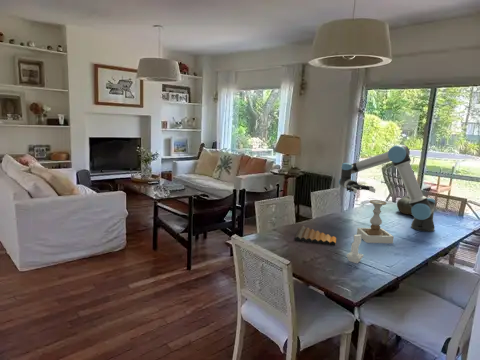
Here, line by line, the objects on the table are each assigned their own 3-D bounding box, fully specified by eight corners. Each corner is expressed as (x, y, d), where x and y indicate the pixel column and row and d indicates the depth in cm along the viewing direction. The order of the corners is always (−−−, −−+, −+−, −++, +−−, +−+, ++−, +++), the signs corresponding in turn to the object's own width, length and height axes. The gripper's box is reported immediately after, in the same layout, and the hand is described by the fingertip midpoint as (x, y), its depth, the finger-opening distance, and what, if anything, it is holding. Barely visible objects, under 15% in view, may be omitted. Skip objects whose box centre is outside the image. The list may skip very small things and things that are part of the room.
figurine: (344, 262, 190) (347, 235, 188) (351, 257, 197) (353, 231, 195) (358, 265, 186) (360, 238, 183) (364, 260, 193) (366, 234, 190)
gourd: (431, 210, 301) (431, 190, 296) (428, 221, 281) (428, 201, 276) (399, 208, 314) (399, 189, 310) (394, 218, 294) (394, 199, 290)
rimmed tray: (381, 234, 239) (382, 228, 238) (392, 243, 222) (393, 236, 221) (356, 234, 238) (357, 227, 237) (366, 242, 221) (367, 236, 221)
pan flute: (300, 229, 245) (294, 241, 222) (300, 225, 245) (295, 236, 221) (336, 234, 238) (335, 246, 215) (337, 229, 238) (335, 241, 214)
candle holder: (384, 240, 224) (388, 204, 220) (366, 238, 226) (370, 203, 222) (381, 235, 234) (385, 200, 230) (364, 233, 236) (367, 199, 232)
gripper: (366, 190, 265) (381, 195, 244) (335, 190, 261) (348, 196, 240) (367, 180, 263) (382, 185, 243) (335, 180, 260) (348, 185, 239)
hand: (365, 190), depth 241 cm, fingers open, 13 cm apart
